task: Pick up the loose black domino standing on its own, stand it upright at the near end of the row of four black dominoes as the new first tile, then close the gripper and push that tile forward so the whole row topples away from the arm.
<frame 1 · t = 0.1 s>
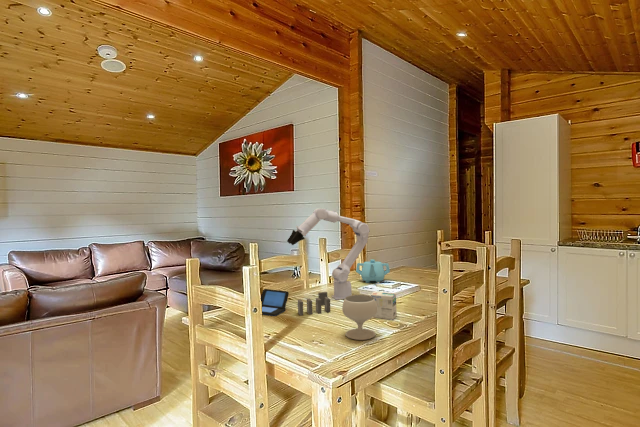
hand: (289, 243, 199), 32 cm above the table, tool tilted 50°, fingers open, 7 cm apart
chalice: (360, 335, 151), on the table
domino 3: (309, 313, 182), on the table
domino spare: (323, 304, 195), on the table
domino 4: (300, 314, 180), on the table
teapot: (372, 282, 244), on the table
domino 2: (318, 312, 183), on the table
light bulb box: (383, 316, 174), on the table
handheld game console: (269, 311, 187), on the table
domino 1: (327, 311, 184), on the table
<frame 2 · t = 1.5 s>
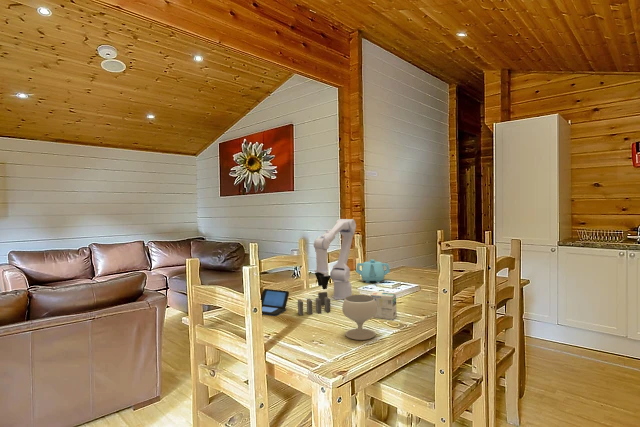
hand: (322, 287, 194), 9 cm above the table, tool pointing down, fingers open, 7 cm apart
nothing on the table moved.
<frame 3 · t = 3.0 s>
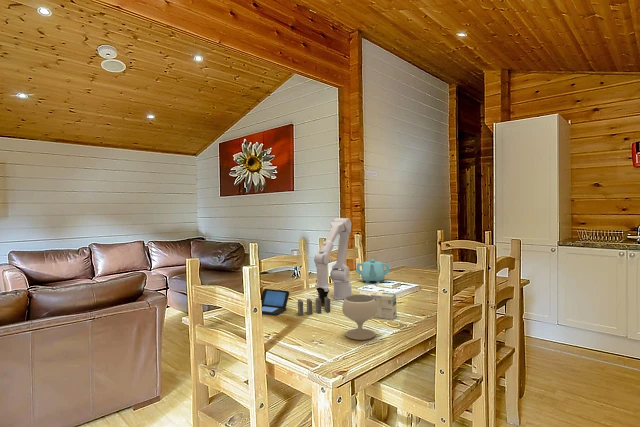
hand: (323, 302, 195), 1 cm above the table, tool pointing down, fingers closed on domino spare, 2 cm apart
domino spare: (323, 304, 195), on the table, touching gripper
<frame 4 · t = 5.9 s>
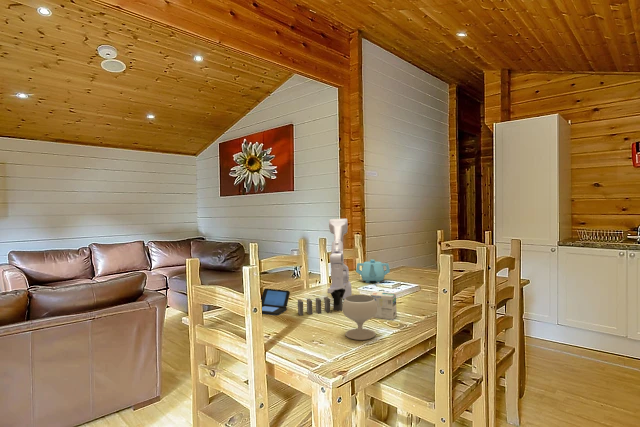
hand: (338, 304, 185), 3 cm above the table, tool pointing down, fingers closed on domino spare, 2 cm apart
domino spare: (338, 310, 186), on the table, touching gripper
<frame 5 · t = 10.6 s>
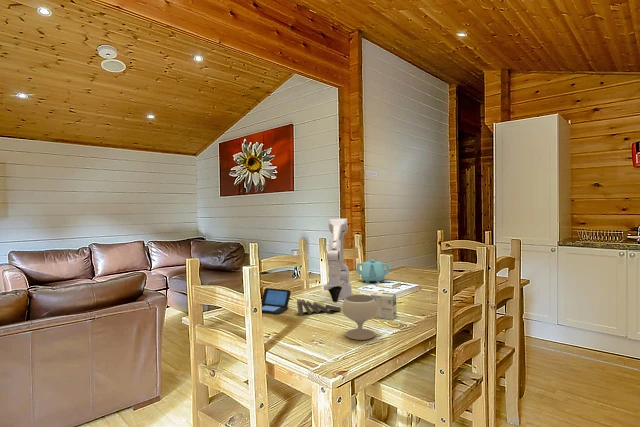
hand: (335, 301, 185), 4 cm above the table, tool pointing down, fingers closed
domino 3: (309, 312, 182), on the table, tilted 29°
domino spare: (337, 308, 185), point 1 cm above the table, tilted 71°
domino 2: (317, 311, 183), point 1 cm above the table, tilted 48°
domino 1: (326, 309, 184), point 1 cm above the table, tilted 60°
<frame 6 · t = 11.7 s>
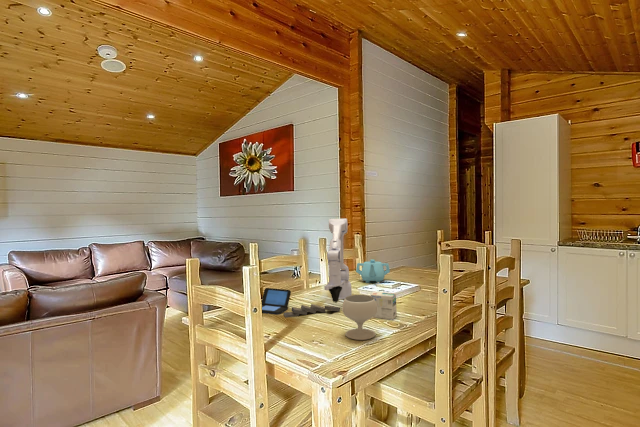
hand: (335, 301, 185), 4 cm above the table, tool pointing down, fingers closed
domino 3: (305, 312, 181), point 1 cm above the table, tilted 75°, touching domino 2, domino 4
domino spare: (336, 308, 185), point 1 cm above the table, tilted 75°, touching domino 1
domino 4: (297, 314, 180), on the table, tilted 90°, touching domino 3
domino 2: (314, 310, 182), point 1 cm above the table, tilted 69°, touching domino 1, domino 3
domino 1: (324, 309, 184), point 1 cm above the table, tilted 70°, touching domino 2, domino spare
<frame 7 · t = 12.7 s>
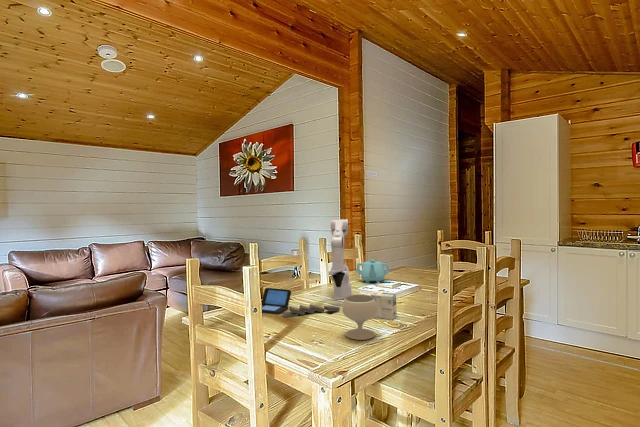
hand: (338, 286, 192), 10 cm above the table, tool pointing down, fingers closed
domino 3: (303, 312, 181), point 1 cm above the table, tilted 70°
domino 4: (297, 314, 179), on the table, tilted 90°
domino 2: (313, 311, 182), point 1 cm above the table, tilted 70°, touching domino 1
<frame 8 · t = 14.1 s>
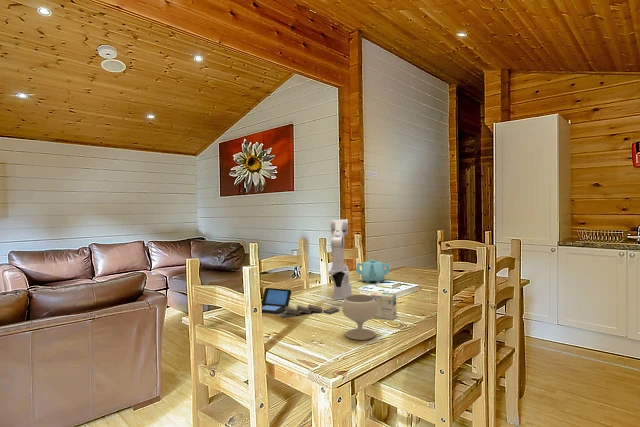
hand: (338, 286, 192), 10 cm above the table, tool pointing down, fingers closed
domino 3: (298, 312, 180), point 1 cm above the table, tilted 70°
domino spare: (335, 309, 185), on the table, tilted 90°
domino 4: (294, 314, 179), on the table, tilted 90°
domino 2: (310, 311, 182), point 1 cm above the table, tilted 70°, touching domino 1
domino 1: (321, 310, 184), point 1 cm above the table, tilted 73°, touching domino 2
at the end: domino 4 tilted 90°; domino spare tilted 90°; the gripper is holding nothing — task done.
